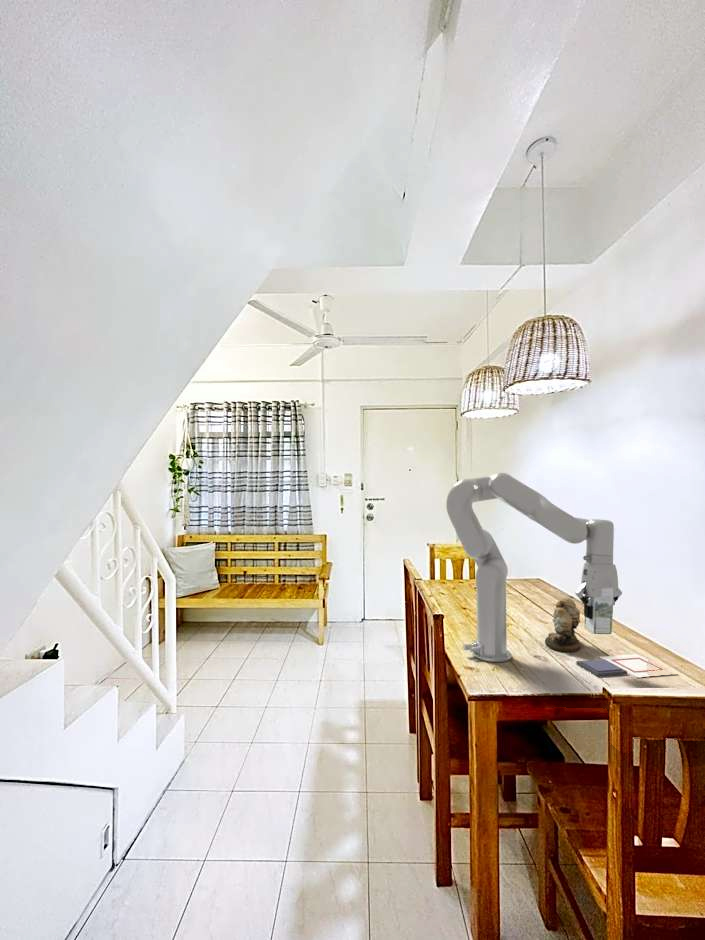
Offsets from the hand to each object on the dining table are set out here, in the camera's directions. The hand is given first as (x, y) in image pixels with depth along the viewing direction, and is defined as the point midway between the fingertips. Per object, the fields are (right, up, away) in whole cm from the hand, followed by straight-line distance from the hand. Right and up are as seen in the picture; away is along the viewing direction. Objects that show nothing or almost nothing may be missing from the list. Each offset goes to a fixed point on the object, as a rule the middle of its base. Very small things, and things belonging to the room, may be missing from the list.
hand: (598, 616), depth 153 cm
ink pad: (+1, -16, 0) cm, 16 cm away
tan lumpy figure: (-1, -17, +23) cm, 28 cm away
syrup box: (0, -5, 0) cm, 5 cm away
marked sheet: (+13, -16, +2) cm, 21 cm away
